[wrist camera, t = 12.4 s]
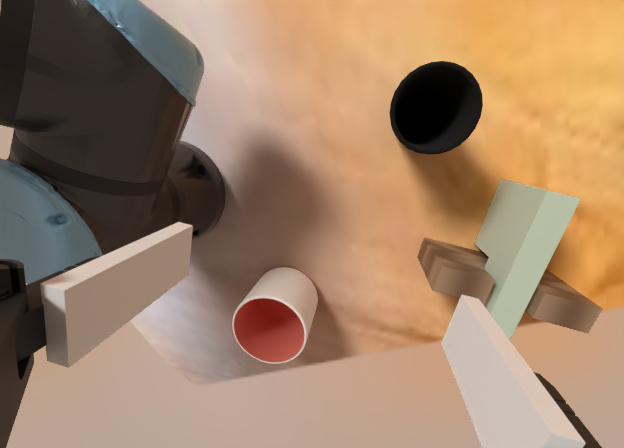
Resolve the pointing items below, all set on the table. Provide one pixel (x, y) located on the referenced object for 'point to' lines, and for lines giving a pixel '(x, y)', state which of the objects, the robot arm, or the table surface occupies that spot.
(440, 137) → the cup
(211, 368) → the table surface
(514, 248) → the sage plate
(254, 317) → the cup
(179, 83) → the robot arm
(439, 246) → the walnut stand
